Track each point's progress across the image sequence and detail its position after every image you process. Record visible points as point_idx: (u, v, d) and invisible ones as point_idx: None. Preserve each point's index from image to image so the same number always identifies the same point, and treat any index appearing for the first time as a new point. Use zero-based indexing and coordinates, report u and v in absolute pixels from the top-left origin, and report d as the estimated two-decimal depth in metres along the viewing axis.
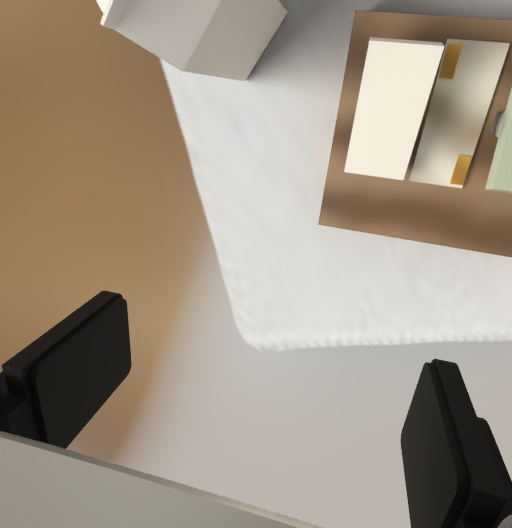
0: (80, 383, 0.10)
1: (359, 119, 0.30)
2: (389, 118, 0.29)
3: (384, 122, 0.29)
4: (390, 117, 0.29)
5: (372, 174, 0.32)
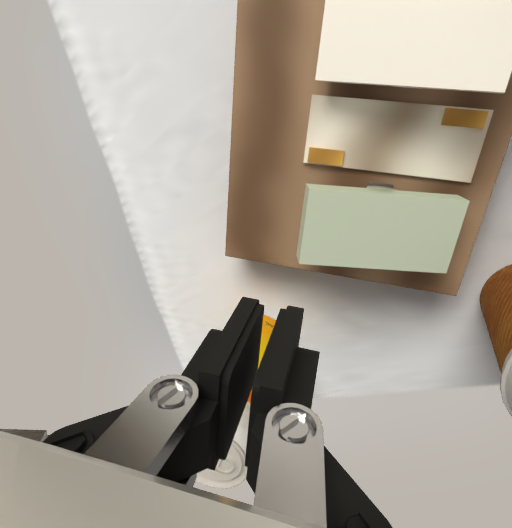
0: (241, 387, 0.10)
1: None
2: (409, 35, 0.20)
3: (403, 29, 0.20)
4: (410, 37, 0.20)
5: (323, 29, 0.22)
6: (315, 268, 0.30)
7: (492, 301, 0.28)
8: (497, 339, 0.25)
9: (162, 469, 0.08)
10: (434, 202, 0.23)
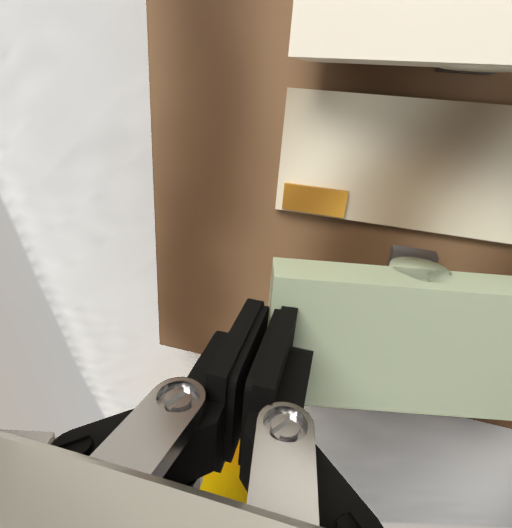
0: None
1: None
2: None
3: None
4: None
5: None
6: None
7: None
8: None
9: (168, 472, 0.08)
10: None
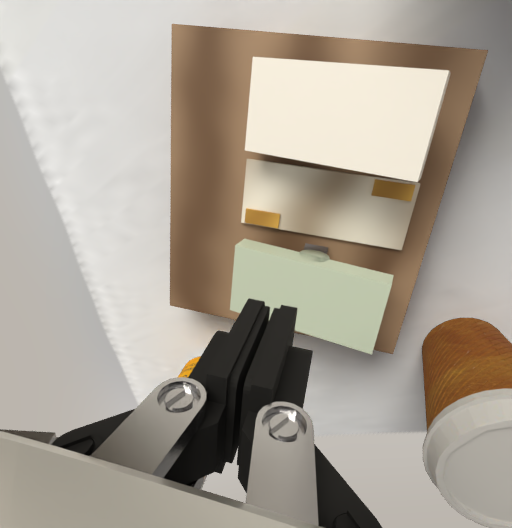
0: None
1: (330, 71, 0.19)
2: (329, 119, 0.20)
3: (323, 112, 0.20)
4: (330, 120, 0.20)
5: (250, 104, 0.22)
6: None
7: (428, 359, 0.29)
8: (427, 403, 0.26)
9: (169, 472, 0.08)
10: (352, 278, 0.22)
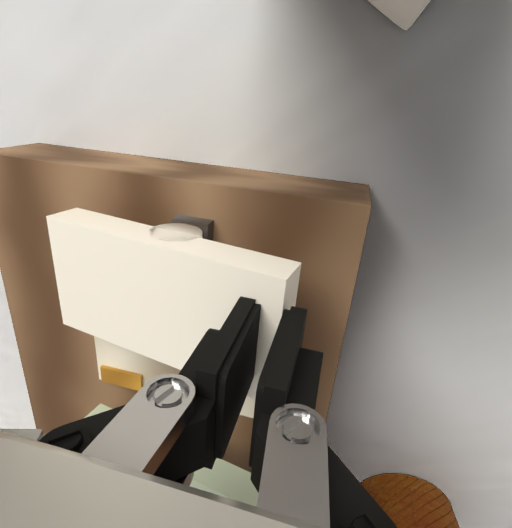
0: (238, 386, 0.11)
1: (140, 252, 0.13)
2: (150, 308, 0.14)
3: (143, 299, 0.14)
4: (152, 310, 0.14)
5: (57, 272, 0.16)
6: None
7: None
8: None
9: (159, 468, 0.08)
10: (212, 492, 0.17)
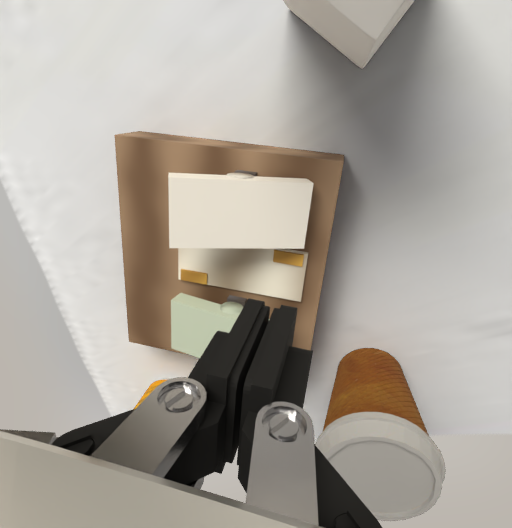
0: None
1: (237, 186, 0.26)
2: (239, 217, 0.27)
3: (235, 213, 0.26)
4: (241, 218, 0.27)
5: (171, 212, 0.25)
6: None
7: (335, 383, 0.36)
8: None
9: (169, 472, 0.08)
10: None
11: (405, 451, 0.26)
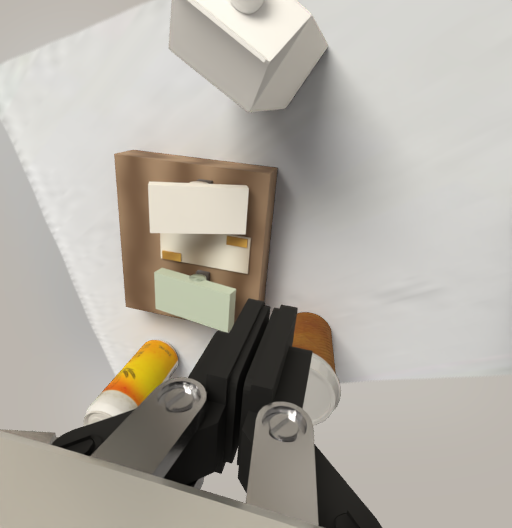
0: None
1: (195, 190, 0.38)
2: (198, 212, 0.39)
3: (194, 209, 0.39)
4: (199, 212, 0.39)
5: (150, 208, 0.38)
6: (177, 316, 0.49)
7: None
8: None
9: (169, 472, 0.08)
10: (212, 291, 0.41)
11: (310, 373, 0.38)
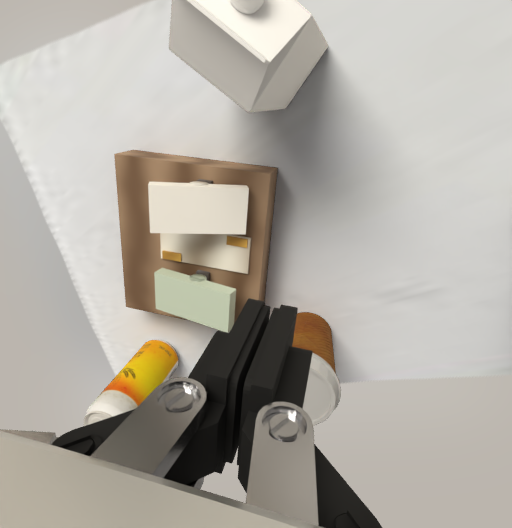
0: None
1: (195, 190, 0.38)
2: (198, 212, 0.39)
3: (195, 209, 0.39)
4: (199, 212, 0.39)
5: (150, 208, 0.38)
6: (177, 316, 0.49)
7: None
8: None
9: (169, 472, 0.08)
10: (212, 291, 0.41)
11: (310, 373, 0.38)
